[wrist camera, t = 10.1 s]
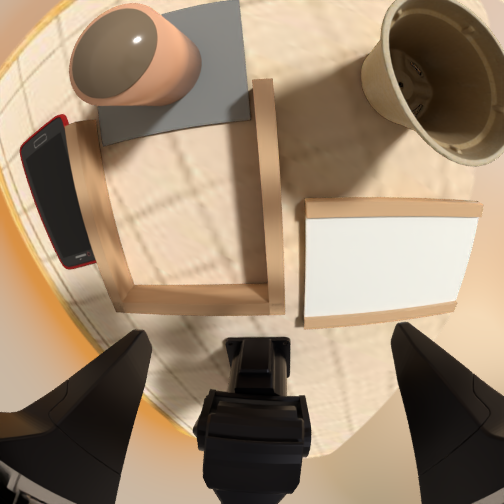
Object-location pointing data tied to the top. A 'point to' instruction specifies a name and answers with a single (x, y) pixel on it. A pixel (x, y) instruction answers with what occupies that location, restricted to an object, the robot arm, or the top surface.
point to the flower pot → (440, 78)
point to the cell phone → (56, 192)
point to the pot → (133, 59)
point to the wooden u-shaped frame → (182, 296)
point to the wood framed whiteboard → (384, 258)
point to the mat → (207, 86)
